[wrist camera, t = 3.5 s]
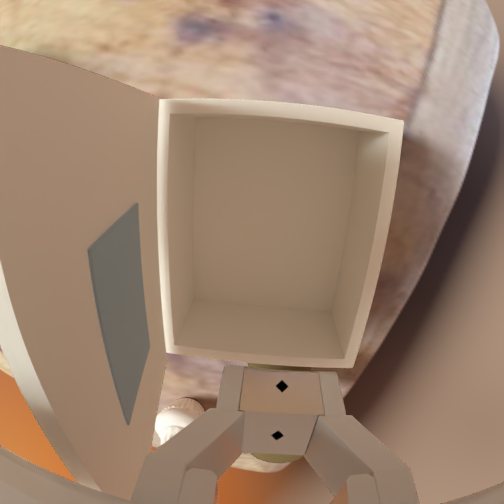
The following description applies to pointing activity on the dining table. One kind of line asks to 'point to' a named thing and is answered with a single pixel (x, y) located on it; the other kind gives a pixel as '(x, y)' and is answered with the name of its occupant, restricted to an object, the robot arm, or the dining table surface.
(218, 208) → the base
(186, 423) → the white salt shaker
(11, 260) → the mailer lid
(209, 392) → the dining table surface
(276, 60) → the dining table surface
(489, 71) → the dining table surface
